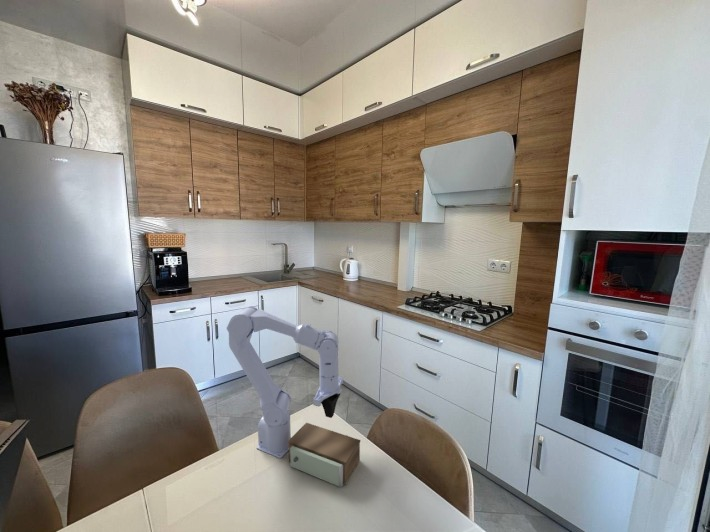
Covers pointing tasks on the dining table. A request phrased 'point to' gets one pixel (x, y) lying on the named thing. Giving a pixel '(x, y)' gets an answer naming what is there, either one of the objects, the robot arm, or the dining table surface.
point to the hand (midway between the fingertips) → (329, 415)
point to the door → (317, 466)
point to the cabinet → (328, 446)
